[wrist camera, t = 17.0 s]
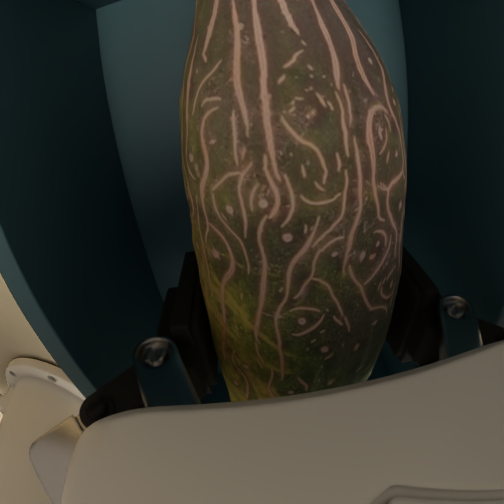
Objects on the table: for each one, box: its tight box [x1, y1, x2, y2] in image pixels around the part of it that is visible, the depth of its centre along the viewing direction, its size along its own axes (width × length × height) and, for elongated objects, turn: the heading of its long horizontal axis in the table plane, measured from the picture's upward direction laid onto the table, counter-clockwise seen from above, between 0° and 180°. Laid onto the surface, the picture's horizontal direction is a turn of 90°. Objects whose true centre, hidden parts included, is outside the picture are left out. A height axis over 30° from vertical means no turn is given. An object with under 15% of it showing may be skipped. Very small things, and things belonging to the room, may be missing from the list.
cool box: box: [0, 0, 504, 404], centre depth 11 cm, size 15×24×9 cm, turn 6°
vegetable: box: [180, 0, 407, 402], centre depth 10 cm, size 6×6×20 cm
